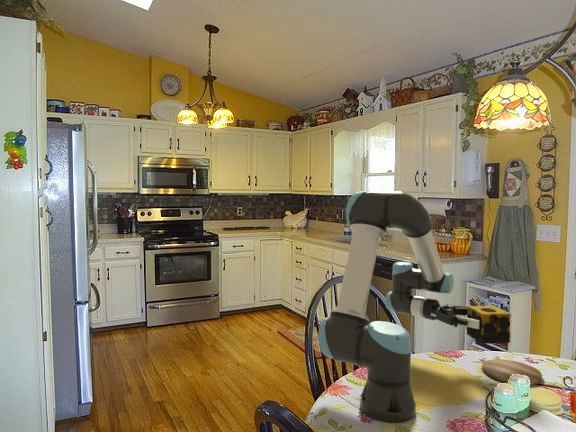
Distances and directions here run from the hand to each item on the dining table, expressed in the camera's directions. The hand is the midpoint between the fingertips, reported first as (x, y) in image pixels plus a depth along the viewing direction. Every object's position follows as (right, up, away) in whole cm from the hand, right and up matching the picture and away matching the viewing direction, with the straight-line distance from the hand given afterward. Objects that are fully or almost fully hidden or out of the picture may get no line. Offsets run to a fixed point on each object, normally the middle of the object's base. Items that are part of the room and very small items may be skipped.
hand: (486, 320), depth 143 cm
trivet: (+9, -18, +1) cm, 21 cm away
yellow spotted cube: (0, -6, 0) cm, 6 cm away
